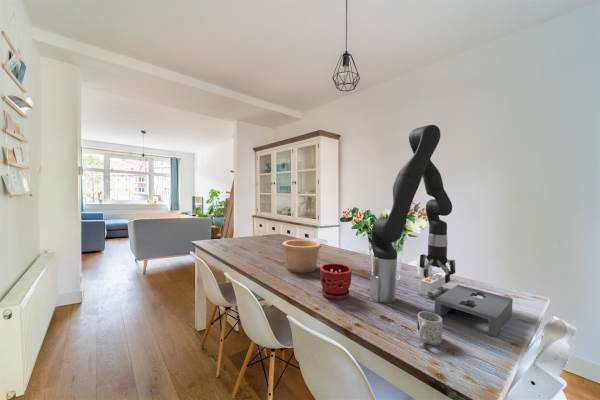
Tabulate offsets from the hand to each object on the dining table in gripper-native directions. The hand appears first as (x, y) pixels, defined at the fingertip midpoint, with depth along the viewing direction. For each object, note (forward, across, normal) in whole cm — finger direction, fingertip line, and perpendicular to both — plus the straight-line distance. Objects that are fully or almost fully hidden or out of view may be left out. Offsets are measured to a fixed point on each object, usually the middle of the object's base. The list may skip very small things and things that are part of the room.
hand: (436, 280), depth 115 cm
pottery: (+5, -63, -26) cm, 68 cm away
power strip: (+6, 0, 0) cm, 6 cm away
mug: (+5, +14, -43) cm, 46 cm away
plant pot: (+5, -25, -40) cm, 47 cm away
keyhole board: (+5, +18, -12) cm, 22 cm away
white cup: (+6, -14, +21) cm, 26 cm away
